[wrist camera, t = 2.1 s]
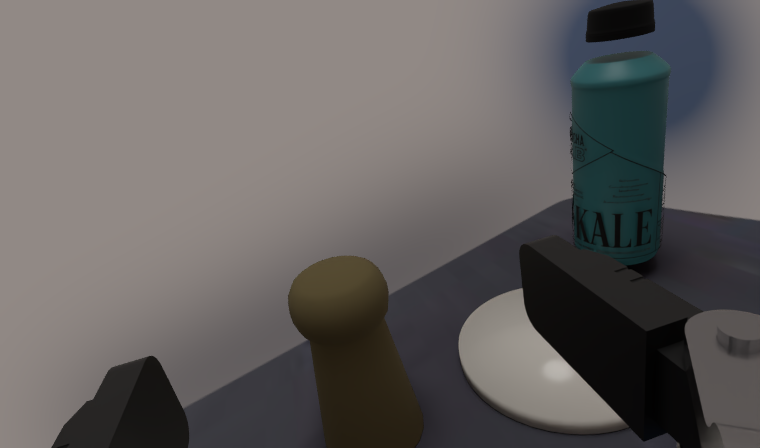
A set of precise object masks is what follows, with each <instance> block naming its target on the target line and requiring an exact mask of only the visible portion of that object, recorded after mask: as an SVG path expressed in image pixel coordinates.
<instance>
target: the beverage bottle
mask: <svg viewBox="0 0 760 448" xmlns="http://www.w3.org/2000/svg"><path fill="white" fill-rule="evenodd" d="M654 31H655V20H654V4H653V0H633V1H623V2H618V3H613V4H610V5H606V6H603V7H600V8H597V9H595V10H591V11H590V12H589V13H588V20H587V32H586V42H603V41H611V40H618V39H624V38H630V37H635V36H640V35H644V34H648V33H651V32H654ZM670 72H671V68H670V66H669V65H668V64H667V63H666V62H665V61H664V60H663V59H661V58H660V57H659V56H657V55H656V54H655V53H653V52H650V51H636V52H624V53H617V54H611V55H605V56H601V57H597V58H593V59H590V60H588V61H586V62H585V63H584V64H583V65H582V66H581V67H580V68H579V70H577V71H576V73H575V74H574V75H573V76H572V78H571V86H572V114H571V115H572V120H571V121H572V128H571V127H570V129H571V130H570V137H571V135H572V138H571V141H572V142H573V148H572V149H571V150H573V154H572V153H571V154H572V156H573V173H572V174H573V184H572V185H573V186H574V187H573V188H574V192H573V193H574V194H573V206H574V211H573V206H572V230H573V219H574V230H575V233H574V234H575V239H574V238H573V239H574V240H575V244H574V245H575V246H576V248H578V249H579V250H582V249H586V250H590V251H593V252H597V253H601V254H604V255H608V256H610V257H611V258H613V259H615V260H617V261H618V262H620V263H622V264H623V265H634V264H639V263H642V262H645V261H648V260H650V259H651V258H652V257H654V256H655V254H656V253H657V250H658V249H659V248H660V247H659V245H660V242H661V240H662V239H661V240H660V237H661V236H660V233H661V232H660V230H661V229H662V228H663V226H662V225H661V224H662V222H663V221H662V222H661V220H662V219H661V212H662V210H664V208H663V209H662V205H663V204H664V203H663V204H662V195H663V191H664V190H663V179H664V175H665V174H664V171H663V164H664V148H665V133H666V118H667V102H668V86H669V76H670ZM571 144H572V143H571ZM571 152H572V151H571ZM665 176H666V175H665ZM571 183H572V181H571ZM664 187H665V186H664ZM573 212H574V214H573ZM573 215H574V216H573ZM663 217H664V214H663ZM663 217H662V218H663ZM663 220H664V218H663ZM661 227H662V228H661ZM660 228H661V229H660ZM662 230H663V229H662ZM662 234H663V231H662ZM573 236H574V235H573ZM573 243H574V242H573Z"/></svg>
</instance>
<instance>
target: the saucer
mask: <svg viewBox="0 0 760 448" xmlns="http://www.w3.org/2000/svg"><path fill="white" fill-rule="evenodd" d="M458 345H459V354H460V361H461V366H462V369H463V373H464V375H465V377H466V379H467V381H468V383H469V384H470V386H471V387H472V389H473V390H474V391H475V392H476V393H477V394H478V395H479V397H480V398H481V399H482V400H484V401H485V402H486V403H487V404H489V405H490V406H491V407H492V408H494V409H495V410H497V411H499V412H500V413H502V414H503V415H505V416H507V417H509V418H511V419H513V420H516V421H518V422H520V423H523V424H526V425H529V426H531V427H535V428H539V429H543V430H547V431H551V432H558V433H565V434H582V435H585V434H601V433H607V432H614V431H618V430H622V429H625V428H629V426H628V425H627V424H626V423H625V422H624V421H623V420H622V419H621V418H620V417H619V416H618V415H617V414H616V413H615V412H614V411H613V410H612V409H611V408H610V406H609V405H608V404H607V403H606V402H605V401H604V400H603V399H602V398H601V397H600V396H599V395H598V394H597V393H596V392H595V391H594V390H593V389H592V388H591V387H590V386H589V385H588V384H587V383H586V382H585V381H584V380H583V379H582V377H581V376H580V375H579V374H578V373H577V372H576V371H575V370H574V369H573V368H572V367H571V366H570V365H569V364H568V363H567V362H566V361H565V360H564V359H563V358H562V357H561V356H560V355H559V354H558V353H557V352H556V351H555V350H554V349H553V347H552V346H551V345H550V344H549V343H548V342H547V341H546V340H545V339H544V338H543V337H542V336H541V335H540V334H539V333H538V332H537V331H536V330H535V328H534V327H533V326H532V324H531V322H530V320H529V318H528V316H527V313H526V310H525V306H524V297H523V288H521V289H517V290H513V291H510V292H507V293H504V294H501V295H499V296H497V297H495V298H493V299H491V300H489V301H487V302H486V303H484V304H483V305H481V306H480V307H479V308H477V309H476V310H475V311H474V312H473V313H472V314H471V315H470V316H469V318H468V319H467V320H466V322H465V324H464V325H463V327H462V330H461V333H460V336H459V344H458Z"/></svg>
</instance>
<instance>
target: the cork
mask: <svg viewBox="0 0 760 448" xmlns="http://www.w3.org/2000/svg"><path fill="white" fill-rule="evenodd" d="M288 304H289V311H290V315H291V318H292V321H293V323H294V325H295V326H296V328H297V329H298V331H299V332H300V333H301V334H302V335H303V336H304V337H305V338H306V339H308V340H310V345H311V352H312V358H313V365H314V371H315V378H316V384H317V391H318V397H319V404H320V410H321V417H322V423H323V430H324V436H325V442H326V447H327V448H415V447H416V445H417V444H418V442H419V441H420V438H421V434H422V431H423V428H424V425H423V414H422V412H421V409H420V407H419V404H418V402H417V399H416V396H415V394H414V391H413V389H412V386H411V384H410V381H409V379H408V376H407V374H406V371H405V369H404V366H403V364H402V361H401V359H400V356H399V354H398V351H397V349H396V346H395V344H394V341H393V339H392V336H391V334H390V331H389V329H388V326H387V324H386V321H385V319H384V316H385V315H386V313H387V311H388V287H387V283H386V281H385V279H384V277H383V275H382V273H381V272H380V270H379V269H378V267H376V266H375V265H374V264H373V263H372V262H370V261H369V260H367V259H365V258H361V257H356V256H338V257H332V258H328V259H325V260H322V261H319V262H317V263H315V264H313V265H311V266H310V267H308V268H307V269H305V270H304V271H302V272H301V273H300V274H299V275H298V276H297V277H296V278H295V279H294V281H293V284H292V286H291V289H290V292H289V295H288Z"/></svg>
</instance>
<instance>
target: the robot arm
mask: <svg viewBox="0 0 760 448" xmlns="http://www.w3.org/2000/svg"><path fill="white" fill-rule="evenodd" d="M519 257H520V267H521V277H522V287H523V297H524V306H525V310H526V313H527V316H528V318H529V320H530V322H531V324H532V326H533V327H534V328H535V330H536V331H537V332H538V333H539V334H540V335H541V336H542V337H543V338H544V339H545V340H546V341H547V342H548V343H549V344H550V345H551V346H552V347H553V349H554V350H555V351H556V352H557V353H558V354H559V355H560V356H561V357H562V358H563V359H564V360H565V361H566V362H567V363H568V364H569V365H570V366H571V367H572V368H573V369H574V370H575V371H576V372H577V373H578V374H579V375H580V376H581V377H582V379H583V380H584V381H585V382H586V383H587V384H588V385H589V386H590V387H591V388H592V389H593V390H594V391H595V392H596V393H597V394H598V395H599V396H600V397H601V398H602V399H603V400H604V401H605V402H606V403H607V404H608V405H609V406H610V408H611V409H612V410H613V411H614V412H615V413H616V414H617V415H618V416H619V417H620V418H621V419H622V420H623V421H624V422H625V423H626V424H627V425H628V426H629V427H630V428H631V429H632V430H633V431H634V432H635V433H636V434H637V435H638V436H639V438H640V439H641V440H642V441H643V442H644V441H647V440H650V439H652V438H655V437H657V436H660V435H663V434H665V433H668V434H669V435H670V436H672V437H673V438H674V439H675V440H676V441H677V448H760V315H757V314H753V313H749V312H743V311H736V310H712V311H706V312H703V311H702V310H700V309H698V308H696V307H695V306H693V305H691V304H690V303H688V302H686V301H685V300H683V299H681V298H679V297H678V296H676V295H674V294H673V293H671V292H669V291H668V290H666V289H664V288H662V287H661V286H659V285H657V284H656V283H654V282H652V281H651V280H649V279H644V277H643V276H642V275H640V274H639V273H637V272H635V271H634V270H632V269H630V270H628V268H627V266H625V265H623V264H622V263H620V262H618V261H617V260H615V259H613V258H611V257H610V256H608V255H604V254H601V253H597V252H593V251H590V250H586V249H582V250H579V249H578V248H576V247H574V246H573V245H571V244H570V243H568V242H566V241H565V240H563V239H562V238H560V237H558V236H556V235H552V236H549V237H546V238H542V239H539V240H536V241H532V242H529V243H526V244H523V245H522V246H521V247H520V252H519ZM188 443H189V428H188V422H187V418H186V415H185V412H184V410H183V408H182V406H181V404H180V402H179V400H178V398H177V396H176V394H175V392H174V390H173V388H172V386H171V384H170V382H169V380H168V378H167V376H166V374H165V372H164V370H163V368H162V366H161V364H160V362H159V361H158V360H157V359H156V358H155V357H154V356H149V357H145V358H142V359H139V360H135V361H132V362H128V363H125V364H122V365H118V366H115V367H112V368H111V369H110V370H109V371H108V372H107V374H106V376H105V378H104V380H103V382H102V384H101V386H100V388H99V390H98V391H97V393H96V395H95V397H94V399H93V400H90V401H87V402H86V403H85V404H84V405H83V406H82V407H81V408H80V409H79V410H78V411H77V413H76V414H74V416H73V417H72V418H71V419H70V420H69V421H68V422H67V423H66V424H65V425H64V426H63V428H62V430H61V432H60V433H59V435H58V437H57V439H56V440H55V442H54V444H53V446H52V448H188Z"/></svg>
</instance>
